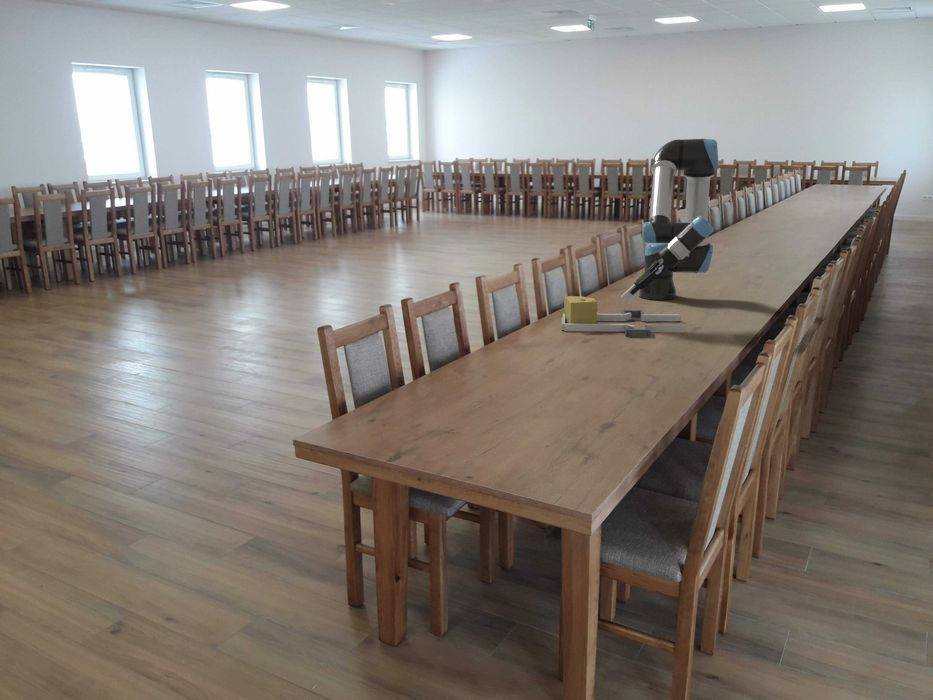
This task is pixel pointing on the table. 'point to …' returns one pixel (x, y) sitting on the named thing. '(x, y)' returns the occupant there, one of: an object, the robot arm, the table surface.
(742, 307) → the table surface
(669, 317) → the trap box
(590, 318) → the cheese
